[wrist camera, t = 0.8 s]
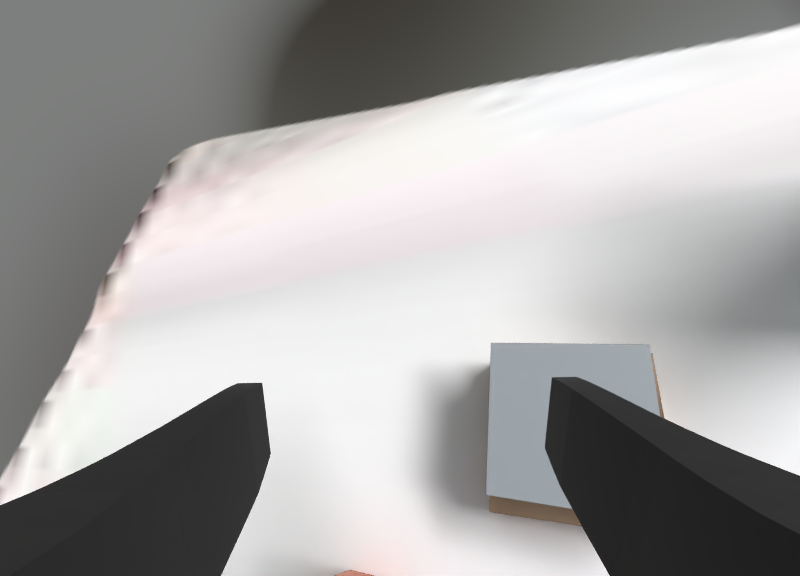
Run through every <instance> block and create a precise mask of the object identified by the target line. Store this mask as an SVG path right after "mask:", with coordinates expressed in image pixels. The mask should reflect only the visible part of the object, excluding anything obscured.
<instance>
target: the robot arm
mask: <svg viewBox="0 0 800 576" xmlns="http://www.w3.org/2000/svg"><path fill="white" fill-rule="evenodd" d="M545 450H546V453H547V455H548V458H549V460H550V463H551V466H552V468H553V471H554V473H555V475H556V478H557V480H558V482H559V485H560V487H561V489H562V491H563V493H564V494H565V496H566V498H567V500H568V502H569V504H570V505H571V507H572V509H573V511H574V513H575V514H576V516H577V518H578V520H579V522H580V523H581V525H582V527H583V529H584V531H585V532H586V534H587V536H588V538H589V539H590V541H591V543H592V545H593V547H594V548H595V550H596V552H597V554H598V555H599V557H600V559H601V561H602V563H603V564H604V566H605V568H606V570H607V571H608V573H609V575H610V576H800V476H799V475H796V474H793V473H791V472H788V471H785V470H783V469H780V468H778V467H775V466H773V465H770V464H767V463H765V462H762V461H760V460H757V459H755V458H752V457H749V456H747V455H744V454H742V453H740V452H737V451H735V450H732V449H730V448H728V447H725V446H723V445H721V444H718V443H716V442H714V441H712V440H709V439H707V438H705V437H703V436H701V435H698V434H696V433H694V432H692V431H689V430H687V429H685V428H683V427H681V426H679V425H677V424H675V423H672V422H670V421H668V420H666V419H664V418H662V417H660V416H658V415H656V414H654V413H652V412H650V411H648V410H646V409H644V408H642V407H640V406H638V405H636V404H634V403H632V402H630V401H628V400H626V399H624V398H622V397H620V396H618V395H616V394H614V393H612V392H610V391H608V390H606V389H604V388H602V387H599V386H597V385H595V384H593V383H591V382H589V381H586V380H584V379H581V378H578V377H552V380H551V390H550V400H549V410H548V419H547V429H546V439H545ZM270 454H271V452H270V444H269V436H268V428H267V419H266V411H265V403H264V395H263V386H262V383H237V384H235V385H233V386H231V387H229V388H227V389H225V390H223V391H221V392H219V393H218V394H216V395H214V396H213V397H211V398H209V399H207V400H206V401H204V402H202V403H201V404H199V405H197V406H196V407H194V408H192V409H191V410H189V411H187V412H185V413H184V414H182V415H180V416H179V417H177V418H175V419H174V420H172V421H170V422H169V423H167V424H165V425H163V426H162V427H160V428H158V429H156V430H155V431H153V432H151V433H149V434H147V435H145V436H144V437H142V438H140V439H138V440H136V441H135V442H133V443H131V444H129V445H127V446H125V447H124V448H122V449H120V450H118V451H116V452H115V453H113V454H111V455H109V456H107V457H105V458H103V459H101V460H99V461H97V462H95V463H93V464H91V465H89V466H87V467H85V468H83V469H81V470H79V471H77V472H75V473H73V474H70V475H68V476H66V477H64V478H62V479H60V480H58V481H56V482H53V483H51V484H49V485H47V486H45V487H43V488H40V489H38V490H36V491H34V492H31V493H29V494H27V495H24V496H22V497H19V498H17V499H15V500H12V501H10V502H7V503H5V504H2V505H0V576H221V574H222V572H223V570H224V568H225V565H226V563H227V561H228V559H229V557H230V555H231V552H232V550H233V548H234V546H235V544H236V542H237V539H238V537H239V535H240V533H241V531H242V529H243V526H244V524H245V522H246V520H247V518H248V515H249V513H250V511H251V509H252V506H253V504H254V502H255V500H256V497H257V495H258V493H259V490H260V487H261V483H262V480H263V477H264V474H265V471H266V468H267V464H268V461H269V458H270Z"/></svg>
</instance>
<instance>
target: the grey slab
mask: <svg viewBox="0 0 800 576" xmlns="http://www.w3.org/2000/svg"><path fill="white" fill-rule="evenodd" d="M552 377H578V378H581V379H584V380H586V381H589V382H591V383H593V384H595V385H597V386H599V387H602V388H604V389H606V390H608V391H610V392H612V393H614V394H616V395H618V396H620V397H622V398H624V399H626V400H628V401H630V402H632V403H634V404H636V405H638V406H640V407H642V408H644V409H646V410H648V411H650V412H652V413H654V414H656V415H658V416H660V411H659V405H658V398H657V392H656V385H655V378H654V372H653V365H652V359H651V352H650V346H649V345H644V344H551V343H491V358H490V389H489V420H488V451H487V482H486V495H491V496H497V497H503V498H509V499H515V500H521V501H527V502H533V503H540V504H546V505H552V506H558V507H564V508H570V509H572V507H571V505H570V504H569V502H568V500H567V498H566V496H565V494H564V493H563V491H562V489H561V487H560V485H559V482H558V480H557V478H556V475H555V473H554V471H553V468H552V466H551V463H550V460H549V458H548V455H547V453H546V450H545V439H546V429H547V419H548V410H549V400H550V390H551V380H552Z"/></svg>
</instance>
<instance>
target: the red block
mask: <svg viewBox="0 0 800 576" xmlns="http://www.w3.org/2000/svg"><path fill="white" fill-rule="evenodd" d="M335 576H374V575H370V574H365V573H361V572H357V571H353V570H349V571H346V572H344V573H341V574H338V575H335Z"/></svg>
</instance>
